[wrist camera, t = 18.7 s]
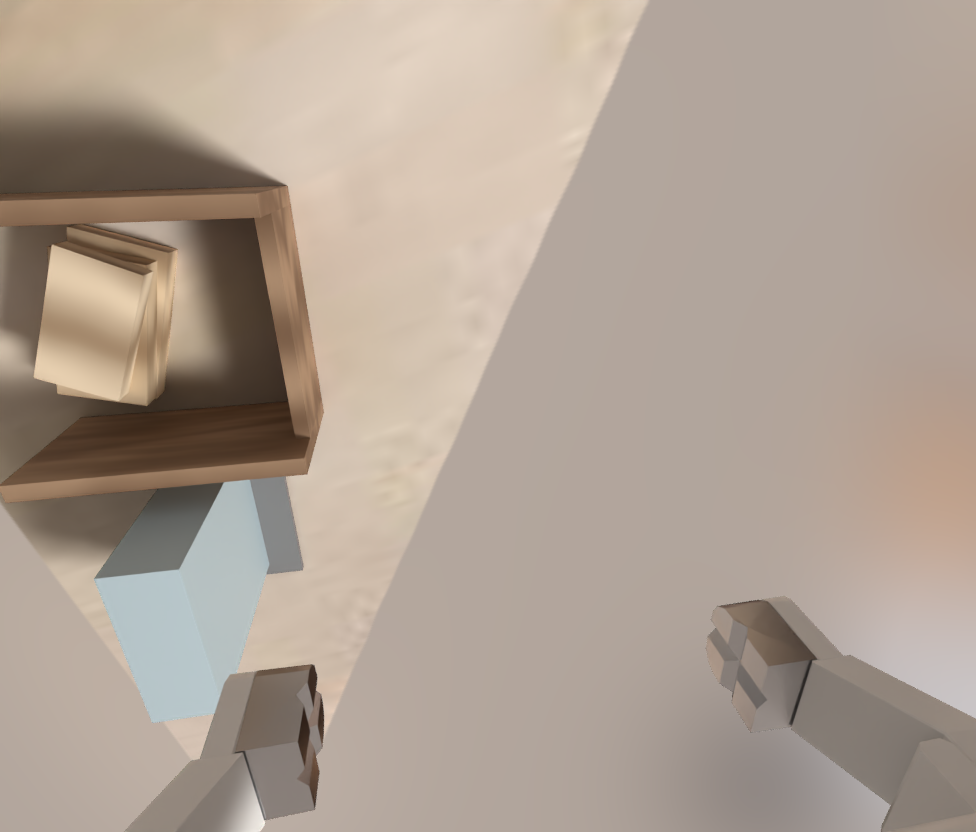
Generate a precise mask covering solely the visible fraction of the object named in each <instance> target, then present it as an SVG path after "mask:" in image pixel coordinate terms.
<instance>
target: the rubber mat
mask: <svg viewBox="0 0 976 832" xmlns="http://www.w3.org/2000/svg"><path fill="white" fill-rule="evenodd" d="M250 483H251V487H252V492H253V496H254V500H255V505H256V509H257V513H258V517H259V522H260V526H261V530H262V535H263V539H264V543H265V548H266V552H267V556H268V561H269V567H268V570H267V574H274V573H283V572H291V571H300V570H303V562H302V557H301V552H300V547H299V542H298V537H297V532H296V527H295V522H294V517H293V512H292V507H291V502H290V498H289V493H288V488H287V483H286V478H285V476H283V477H273V478H262V479H252V480H250Z"/></svg>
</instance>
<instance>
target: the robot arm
mask: <svg viewBox="0 0 976 832" xmlns="http://www.w3.org/2000/svg"><path fill="white" fill-rule="evenodd" d="M711 621H712V622H713V624H714V625H715V627H716V628H715V629H714V630H713V631H712V632H711V633H710V634H709V636H708V639H707V646H706V651H707V657H708V662H709V665H710V667H711V670H712V672H713V674H714V675H715V677H716V679H717V680H718V682H719V683H720V684H721V685H722V686H724V687H726V688H727V689H729V690H730V691H732V692H733V693H732V704H733V706H734V707H735V709H736V710H737V712H738V713H739V715H740V717H741V718H742V720H743V721H744V723H745V725H746V726H747V728H748V729H749V731H750V732H751V733H753V732H760V731H766V730H774V729H780V728H787V727H792V728H791V730H793V731H794V732H795V733H797V734H798V735H799V736H800V737H802V738H803V739H804V740H806V741H807V742H808V743H810V744H811V745H812V746H814V747H815V748H816V749H818V750H819V751H820V752H821V753H823V754H824V755H825V756H827V757H828V758H829V759H831V760H832V761H833V762H835V763H836V764H837V765H839V766H840V767H841V768H843V769H844V770H845V771H847V772H848V773H849V774H850V775H852V776H853V777H854V778H856V779H857V780H859V781H860V782H861V783H863V784H864V785H865V786H866V787H868V788H869V789H870V790H871V791H873V792H874V793H875V794H877V795H878V796H879V797H881V798H882V799H883V800H885V801H886V802H887V803H889V804H890V805H891V806H890V808H889V810H888V813H887V815H886V817H885V819H884V822H883V823H882V828H881V832H976V719H975V718H973V717H971V716H969V715H967V714H965V713H963V712H962V711H960V710H957V709H955V708H953V707H952V706H950V705H948V704H946V703H944V702H942V701H940V700H938V699H936V698H934V697H932V696H930V695H928V694H926V693H924V692H922V691H920V690H918V689H916V688H914V687H912V686H910V685H908V684H906V683H904V682H902V681H900V680H898V679H897V678H894V677H893V676H891V675H889V674H887V673H885V672H883V671H881V670H879V669H877V668H875V667H873V666H871V665H869V664H867V663H865V662H863V661H861V660H859V659H857V658H855V657H853V656H851V655H847V656H843V655H842V654H841V653H840V652H839V651H838V650H837V648H836V647H835V646H834V645H833V644H832V643H831V642H830V641H829V640H828V639H827V638H826V637H825V635H824V634H823V633H822V632H821V631H820V630H819V629H818V628H817V627H816V626H815V625H814V624H813V623H812V621H811V620H810V619H809V618H808V617H807V616H806V615H805V614H804V613H803V612H802V611H801V610H800V609H799V607H797V605H796V604H795V603H794V602H793V601H792V600H791V599H789V598H787V597H785V596H781V597H775V598H768V599H762V600H753V601H746V602H740V603H733V604H727V605H721V606H717V607H716V608H715V609H714V610H713V613H712V618H711ZM317 678H318V677H317V673H316V669H315V665H312V664H310V665H302V666H293V667H285V668H276V669H267V670H259V671H254V672H245V673H237V674H230V675H229V677H228V678H227V680H226V681H225V683H224V685H223V689H222V692H221V695H220V698H219V701H218V704H217V707H216V710H215V713H214V716H213V720H212V723H211V726H210V729H209V732H208V735H207V738H206V741H205V744H204V748H203V751H202V754H201V757H200V759H198V760H192V761H190V762H189V763H188V764H187V765H186V766H185V768H184V769H183V770H182V771H181V772H180V773H179V774H178V775H177V776H176V777H175V778H174V779H173V780H172V781H171V782H170V783H169V784H168V786H167V787H166V788H165V789H164V790H163V791H162V792H161V793H160V794H159V795H158V796H157V797H156V798H155V799H154V800H153V801H152V802H151V804H150V805H149V806H148V807H147V808H146V809H145V810H144V811H143V812H142V813H141V814H140V815H139V816H138V817H137V818H136V819H135V821H134V822H133V823H132V824H131V825H130V826H129V827H128V828H127V829H126V830H125V831H124V832H260V831H261V829H262V828H263V826H264V825H265V821H264V820H269V819H273V818H278V817H283V816H288V815H292V814H298V813H302V812H307V811H312V810H315V805H316V797H317V789H318V781H319V767H318V763H317V758H316V756H317V754H318V753H319V752H320V750H321V749H322V747H323V737H324V709H323V701H322V696H321V694H320V693H319V692H317V691H316V686H317Z"/></svg>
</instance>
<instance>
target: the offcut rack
mask: <svg viewBox="0 0 976 832" xmlns="http://www.w3.org/2000/svg"><path fill="white" fill-rule="evenodd" d="M236 218H254V220H255V225H256V231H257V236H258V241H259V247H260V252H261V257H262V263H263V268H264V273H265V279H266V284H267V289H268V295H269V300H270V305H271V311H272V316H273V321H274V327H275V332H276V337H277V343H278V348H279V353H280V359H281V364H282V369H283V375H284V380H285V385H286V391H287V396H288V401H289V402H276V403H263V404H250V405H238V406H225V407H212V408H199V409H186V410H173V411H161V412H148V413H135V414H122V415H109V416H96V417H84V418H80V419H79V420H77V421H76V422H75V423H74V424H73V425H71V426H70V427H69V428H68V429H67V430H65V431H64V432H63V433H62V434H61V435H59V436H58V437H57V438H56V439H55V440H53V441H52V442H51V443H50V444H49V445H47V446H46V447H45V448H44V449H43V450H41V451H40V452H39V453H38V454H36V455H35V456H34V457H33V458H32V459H30V460H29V461H28V462H27V463H26V464H24V465H23V466H22V467H21V468H20V469H18V470H17V471H16V472H15V473H14V474H12V475H11V476H10V477H9V478H8V479H6V480H5V481H4V482H3V483H2V484H0V492H1V494H2V496H3V498H4V500H5V503H11V502H22V501H32V500H43V499H53V498H64V497H74V496H84V495H95V494H105V493H116V492H126V491H137V490H147V489H158V488H168V487H179V486H189V485H200V484H210V483H221V482H231V481H241V480H252V479H262V478H273V477H283V476H294V475H304V474H307V473H308V469H309V466H310V462H311V458H312V454H313V451H314V447H315V443H316V439H317V436H318V432H319V428H320V424H321V421H322V417H323V413H324V411H323V405H322V399H321V392H320V386H319V380H318V374H317V367H316V361H315V355H314V349H313V342H312V336H311V330H310V324H309V317H308V311H307V305H306V298H305V292H304V286H303V280H302V273H301V267H300V261H299V255H298V248H297V242H296V236H295V230H294V223H293V217H292V211H291V204H290V198H289V192H288V186H267V187H230V188H193V189H156V190H119V191H82V192H45V193H8V194H0V227H3V226H32V225H61V224H90V223H120V222H149V221H178V220H207V219H236Z"/></svg>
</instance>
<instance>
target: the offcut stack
mask: <svg viewBox="0 0 976 832" xmlns="http://www.w3.org/2000/svg"><path fill="white" fill-rule="evenodd" d="M177 252H178V249H174V248H170V247H167V246H163V245H159V244H155V243H151V242H148V241H144V240H140V239H136V238H132V237H128V236H125V235H121V234H117V233H113V232H109V231H106V230H102V229H98V228H94V227H90V226H86V225H83V224H78V225H73V226H68V227H67V241H64V242H60V243H56V244H52V245H51V246H47V255H48V276H47V283H46V291H45V298H44V305H43V313H42V320H41V327H40V335H39V342H38V349H37V356H36V364H35V371H34V378H36V379H39V380H43V381H47V382H50V383H54V384H57V394H63V395H70V396H77V397H85V398H92V399H100V400H107V401H115V402H122V403H130V404H137V405H145V406H148V405H149V404H150V403H151V402H152V401H153V400H156V399H157V398H158V397H159V396H160V395H161V394H162V393H163V392H164V391H165V381H166V370H167V359H168V349H169V338H170V327H171V316H172V306H173V295H174V284H175V274H176V263H177Z"/></svg>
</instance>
